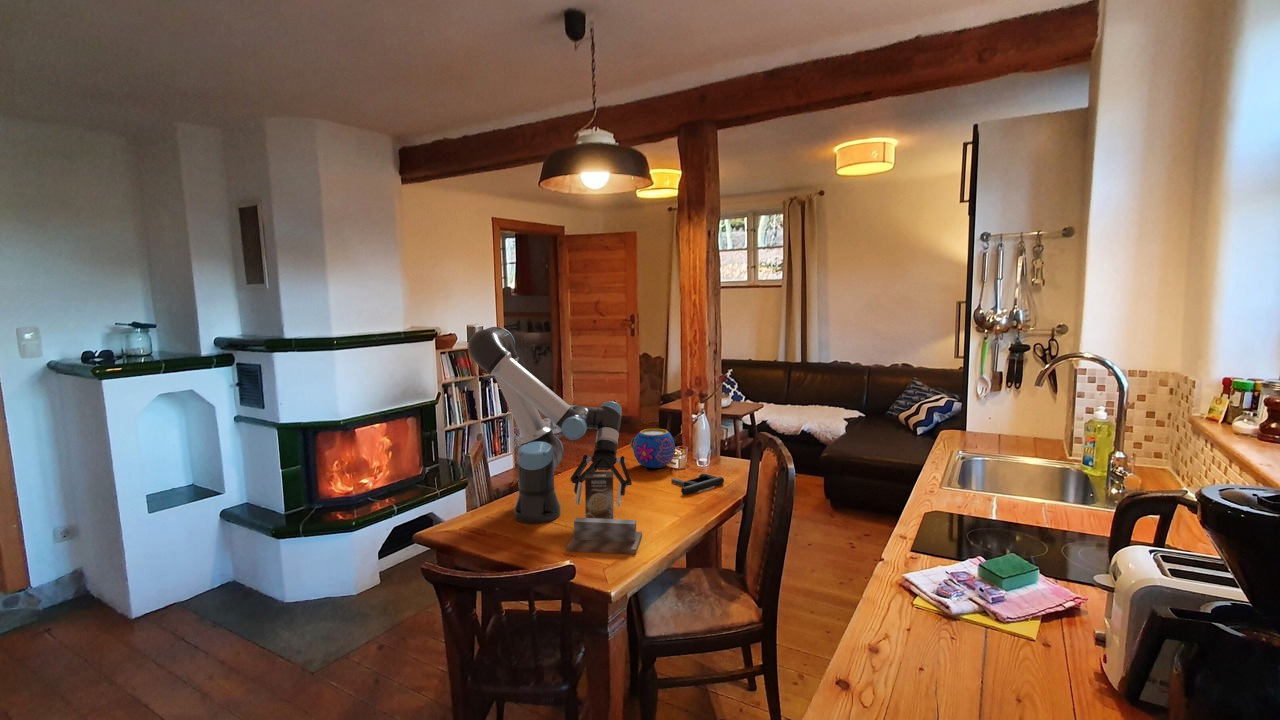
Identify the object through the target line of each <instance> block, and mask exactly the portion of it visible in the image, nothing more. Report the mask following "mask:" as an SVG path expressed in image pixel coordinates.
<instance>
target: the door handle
mask: <svg viewBox="0 0 1280 720" xmlns="http://www.w3.org/2000/svg"><path fill="white" fill-rule="evenodd" d="M671 483H672V484H674V485H677V486H680V487H682V488H681V489H680V492H681V494H682V495H683V496H687V495H690V494H691V495H692V494H693V493H697V494H698V493H702V492H705V491H708V490H712V489H714V488H715V487H717V486H721V485H723V484H724V483H725V479H724V478H723V476H716V475H712V474H707V473H701V474H699V475H698V477H696V478H692V479H689V480H682V479H679V478H675V477H674V478H671Z"/></svg>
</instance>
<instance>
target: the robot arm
mask: <svg viewBox="0 0 1280 720" xmlns="http://www.w3.org/2000/svg"><path fill="white" fill-rule="evenodd" d="M515 341H516V340H515V338H514V336H513V334H512V333H511V332H510V331H509V330H507V329H506V328H504V327H500V326H491V327H489V328H485V329H479V330H477V331H476V332H475V333H473V334H472V336H470V338H469V341H468V344H467V350H468V354H469V356H470V357H471V359H472V360H473V362H474V363H475V364H476V365H478V366H479V367H480V368H481V369H482V370H483V371H484V372H486V373H487V374H488V375H490V376H492V377H493V376H494V378H495V381H496V383H497V384H498V386H499V389H500V391H501V394H502V395H503V397H504V400H505V401H506V404H507V406H508V409H509V411H510V413H511V415H512V417H513V419H514V422H515V423H516V426H517V428H518V430H519V433H520V434H521V440H520V445H521V446H520V447H519V448H518V451H517V456H516V463H517V477H518V478H517V479H518V480H517V481H518V496H517V498H516V499H517V500H516V503H515V507H514V519H515V520H517V521H518V522H520V523H525V524H542V523H547V522H551V521H554V520H556V519H557V518H559V517H560V515H561V514H562V513H561V512H562V511H561V504H560V502H559V499H558V497H557V494H556V490H555V470H556V469H557V467H558V466H559V465H560V463H561V462H562V459H563V457H564V456H563V455H564V446H563V444H562V441H561V440H560V439H559V438H558V437H557V436H556V435H554V431H553V430H552V428H551V427H548V426H546V425H545V423H544V421H543V419H542V416H541V414H543V415H544V416H545V417H546V418H547V419H549V420H550V421H551V422H552V423H554V425H556V426H557V427H558V428H559V429H561V432H562V435H563V436H564V437H565V438H566V439H568V440H570V441H576V440H579V439H580V438H582V437H583V436H584V435H585V434H586V432H587V430H588V429H589V430H596V437H595V444H594V448H593V449H594V451H593V455H592V456H588V455H587V454H584V455H583V457H582V460H581V462H580V463H579V464H578V467H577V468H576V469H575V470H574V472H573V473H572V475H571V477H570V478H569V479H570V481H571V483H572V484H574V489H573V491H574V494H575V501H574V502H575V503H576V506H577V505H580V503H581V497H582V490H583V483H584V482H585V473H586V472H597V470H598V471H605V472H609V470H610V472H613V476H615V477H616V479H617V480H618V482H619V483H618V487H617V495H616V496H617V498H616V505H617V507H621V501H622V496H625V495H626V488H627V486H632V484H633V482H632V479H631V477H630V474H629V471H628V469H627V466H626V459H625V456H624V455H621V456H620V457H617V452H618V443H619V436H620V428H621V421H622V411H623V410H622V406H621V405H620V404H619V403H618V402H615V401H611V400H608V401H604V402H602V403H601V406H600V407H593V406H584V405H577V404H575V405H571V404H570V405H569V404H568V403H567V402H566V401H565V400H564V399H563V398H561V397H560V396H558V394H556V393H555V392H554V391H553V390H551V389H550V387H548V386H546V385H545V384H544V383H543V382H542V381H541V380H539V379H538V378H537V377H536V376H535V375H533V374H532V373H530V371H528V370H527V369H526V368H525V367H524V366H522V365H521V364H520V363H519V359H520V357H519V355H518V353H517V351H516V349H515V348H516V342H515ZM590 462H591V463H590ZM616 463H618V464H619V465H621V469H622V471H623V475H624V476H625V479H624V478H623V476H622V475H621V474H620V472H619V471H618V469H617V468H616V466H615V465H616ZM588 464H590V465H589V466H588V468H586V467H587V465H588Z"/></svg>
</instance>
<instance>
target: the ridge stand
mask: <svg viewBox="0 0 1280 720" xmlns="http://www.w3.org/2000/svg"><path fill="white" fill-rule="evenodd" d="M573 530H574V531H573V535H572V537H571V539H570V541H568V544H567V545H566V550H567V552H568V551H569V552H581V553H582V552H584V553H585V552H586V553H601V554H602V553H604V554H622V555H623V554H624V555H625V554H626V555H637V553H638V550H639V546H640V544H641V541H642V538H643V531H637V520H636V519H624V518H623V519H620V518H614V519H601V518H585V517H575V519H574V520H573Z"/></svg>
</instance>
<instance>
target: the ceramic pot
mask: <svg viewBox="0 0 1280 720" xmlns="http://www.w3.org/2000/svg"><path fill="white" fill-rule="evenodd" d="M630 446H631V448H632V451H633V454H634V457H635V459H636V461H637V463H638V464H640V465H641V466H643V467H646V468H649V469H659V468H664V467H665V466H667V465H669V464H670V463H672V461H673V459H674V456H675V454H676V443H675V440H674V438H673V436H672V434H671V432H669V431H668V430H667V429H663V428H656V427H655V428H646V429H642V430H640V431H638V433H637V435H636V436H635V437H633V438H632V439H631V441H630ZM674 453H675V454H674Z"/></svg>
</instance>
